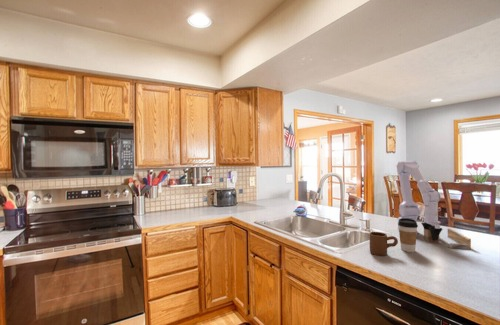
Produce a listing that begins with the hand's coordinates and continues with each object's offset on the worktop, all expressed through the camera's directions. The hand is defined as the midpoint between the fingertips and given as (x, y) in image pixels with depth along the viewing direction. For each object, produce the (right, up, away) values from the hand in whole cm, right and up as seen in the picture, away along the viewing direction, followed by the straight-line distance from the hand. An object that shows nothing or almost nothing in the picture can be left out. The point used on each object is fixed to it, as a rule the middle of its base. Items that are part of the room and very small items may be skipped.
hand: (431, 238), depth 132 cm
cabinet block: (0, -2, 0) cm, 2 cm away
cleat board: (+9, -2, -2) cm, 9 cm away
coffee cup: (-21, -2, -12) cm, 24 cm away
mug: (-35, -3, -16) cm, 39 cm away
